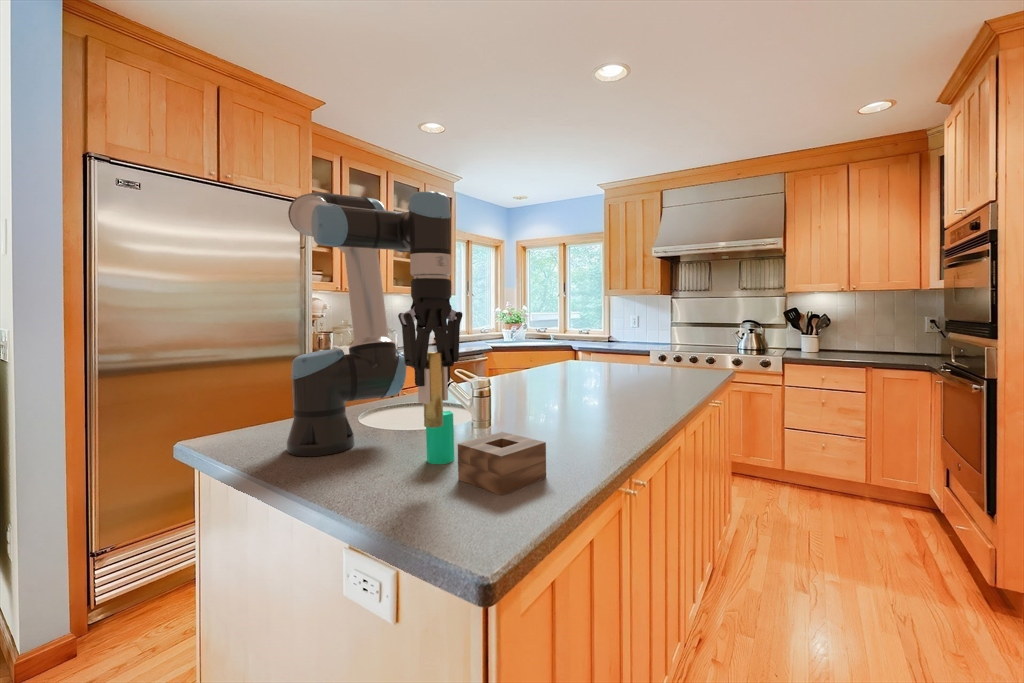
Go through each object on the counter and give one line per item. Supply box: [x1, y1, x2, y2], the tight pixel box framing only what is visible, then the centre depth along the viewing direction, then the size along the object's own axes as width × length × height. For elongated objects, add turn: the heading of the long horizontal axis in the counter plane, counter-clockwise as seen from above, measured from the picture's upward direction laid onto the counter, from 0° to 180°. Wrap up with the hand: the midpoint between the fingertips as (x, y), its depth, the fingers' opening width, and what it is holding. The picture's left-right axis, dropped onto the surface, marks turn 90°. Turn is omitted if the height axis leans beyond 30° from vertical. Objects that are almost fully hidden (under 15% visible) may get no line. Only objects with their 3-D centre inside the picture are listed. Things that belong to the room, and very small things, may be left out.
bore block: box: [457, 431, 547, 496], centre depth 93 cm, size 12×12×7 cm
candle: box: [425, 410, 455, 465], centre depth 106 cm, size 6×6×12 cm
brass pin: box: [423, 351, 444, 428], centre depth 93 cm, size 4×4×14 cm
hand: (433, 400), depth 93 cm, fingers closed on brass pin, 3 cm apart
